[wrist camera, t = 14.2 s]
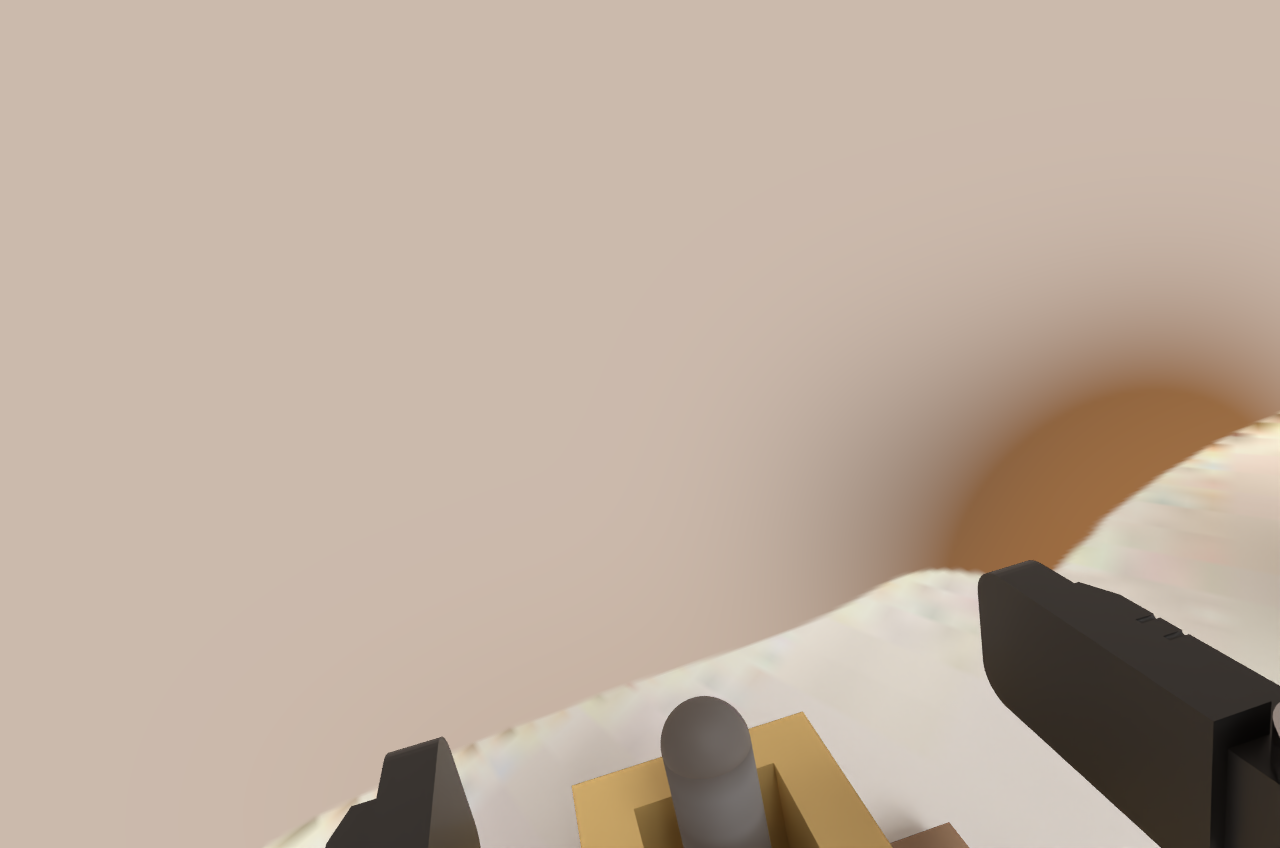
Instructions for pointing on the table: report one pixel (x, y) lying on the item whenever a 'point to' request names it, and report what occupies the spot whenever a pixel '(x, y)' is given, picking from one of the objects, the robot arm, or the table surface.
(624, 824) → the bead
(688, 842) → the spindle stand
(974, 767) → the table surface
